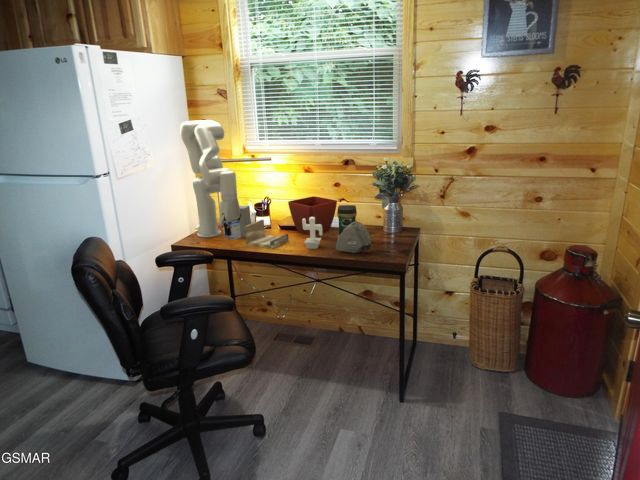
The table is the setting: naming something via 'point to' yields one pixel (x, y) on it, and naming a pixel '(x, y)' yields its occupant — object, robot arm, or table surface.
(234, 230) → the medicine box
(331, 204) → the plant pot
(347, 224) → the coffee jar
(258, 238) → the grey angle bracket
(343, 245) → the decorative rock
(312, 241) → the figurine
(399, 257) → the table surface
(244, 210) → the skincare box
